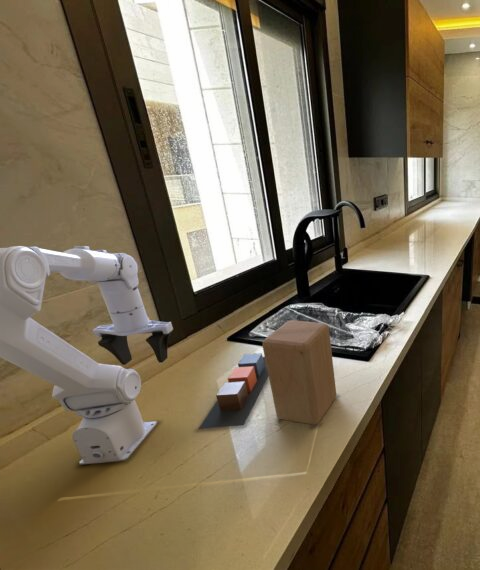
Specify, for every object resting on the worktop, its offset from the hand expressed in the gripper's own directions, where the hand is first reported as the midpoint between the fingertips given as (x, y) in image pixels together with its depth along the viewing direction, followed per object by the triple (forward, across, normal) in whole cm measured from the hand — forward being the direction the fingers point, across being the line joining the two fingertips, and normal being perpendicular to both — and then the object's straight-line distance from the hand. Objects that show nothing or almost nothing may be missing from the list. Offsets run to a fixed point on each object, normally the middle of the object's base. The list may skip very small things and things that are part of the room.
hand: (145, 361), depth 75 cm
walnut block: (+9, -20, +6) cm, 23 cm away
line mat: (+9, -20, 0) cm, 22 cm away
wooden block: (+10, -37, +9) cm, 39 cm away
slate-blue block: (+9, -20, -6) cm, 23 cm away
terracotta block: (+9, -20, 0) cm, 22 cm away
